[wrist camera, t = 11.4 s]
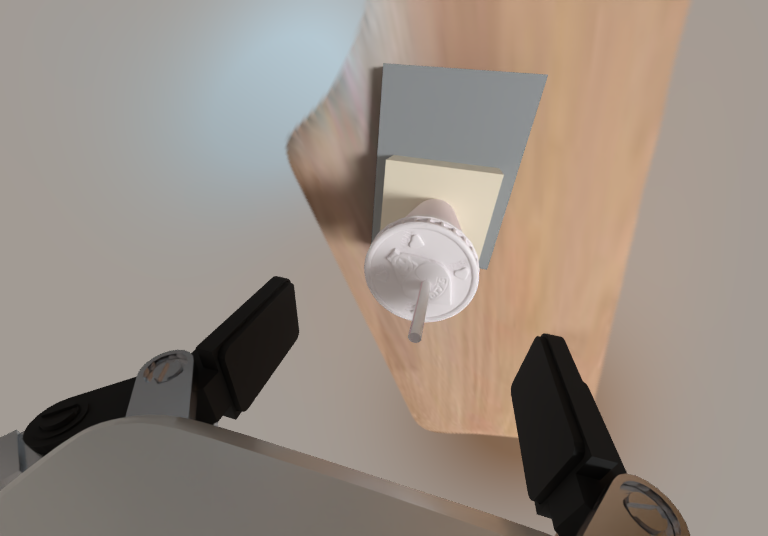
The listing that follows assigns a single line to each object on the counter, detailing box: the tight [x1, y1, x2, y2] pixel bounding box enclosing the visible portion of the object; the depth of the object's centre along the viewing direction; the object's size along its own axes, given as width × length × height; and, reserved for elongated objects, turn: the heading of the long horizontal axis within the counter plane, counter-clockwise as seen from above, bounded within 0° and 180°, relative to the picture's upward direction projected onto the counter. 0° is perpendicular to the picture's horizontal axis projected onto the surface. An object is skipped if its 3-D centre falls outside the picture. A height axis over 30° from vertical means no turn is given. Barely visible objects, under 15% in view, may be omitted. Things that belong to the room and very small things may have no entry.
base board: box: [371, 63, 548, 270], centre depth 24 cm, size 16×12×4 cm
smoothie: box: [364, 199, 480, 343], centre depth 17 cm, size 6×6×14 cm
